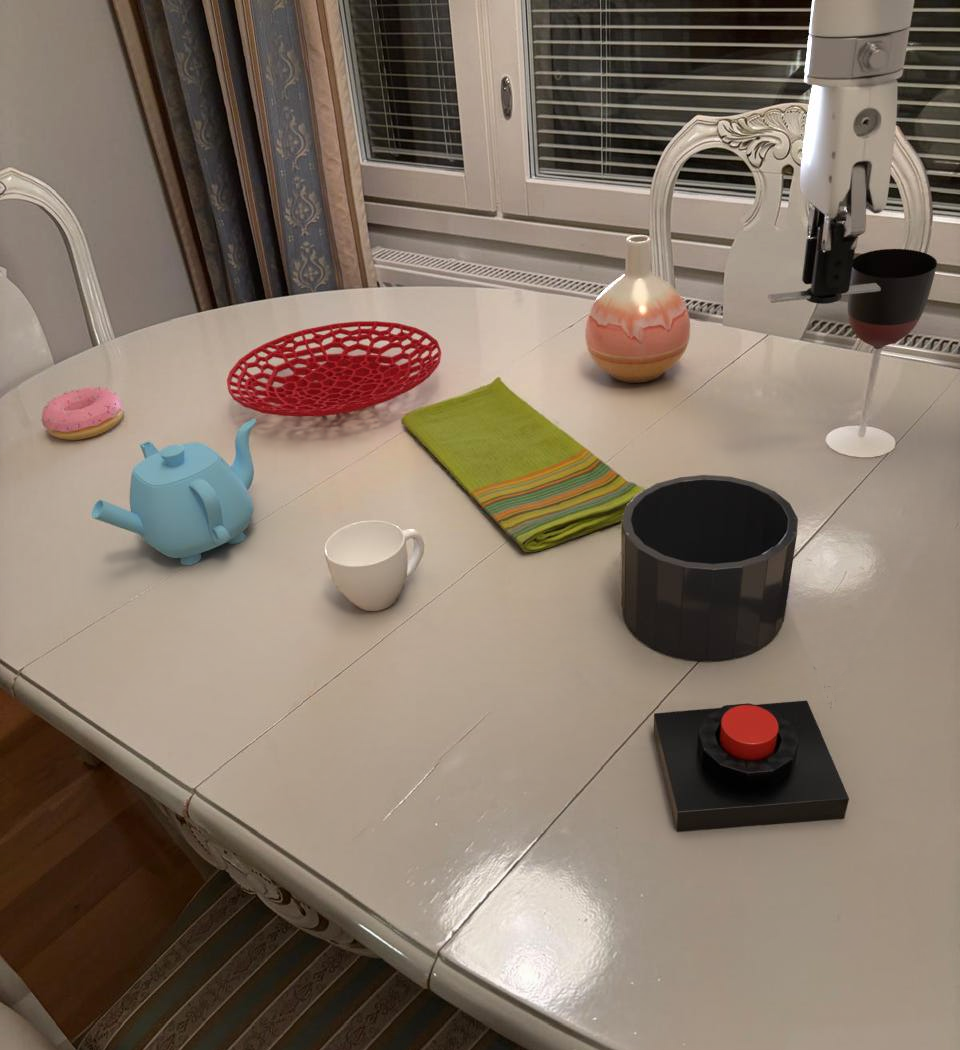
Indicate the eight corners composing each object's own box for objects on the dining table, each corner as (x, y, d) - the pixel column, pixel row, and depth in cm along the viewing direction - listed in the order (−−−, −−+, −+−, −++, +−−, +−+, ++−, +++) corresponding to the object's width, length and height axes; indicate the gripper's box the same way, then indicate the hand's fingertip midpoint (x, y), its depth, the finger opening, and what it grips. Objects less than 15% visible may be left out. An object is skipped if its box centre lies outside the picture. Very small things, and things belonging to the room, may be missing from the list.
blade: (871, 286, 87) (883, 214, 83) (883, 297, 84) (896, 224, 80) (765, 297, 87) (771, 227, 83) (773, 309, 85) (780, 237, 81)
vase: (605, 403, 119) (604, 264, 107) (573, 363, 129) (569, 232, 118) (704, 383, 120) (713, 244, 109) (664, 345, 131) (669, 215, 119)
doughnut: (126, 402, 134) (117, 375, 131) (128, 433, 126) (117, 405, 123) (50, 418, 132) (38, 391, 129) (46, 452, 124) (33, 423, 121)
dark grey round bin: (760, 557, 90) (771, 468, 84) (804, 654, 79) (820, 559, 73) (612, 571, 91) (612, 483, 84) (634, 669, 80) (636, 576, 73)
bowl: (365, 465, 112) (358, 427, 109) (191, 427, 125) (180, 393, 122) (483, 367, 131) (480, 333, 128) (321, 344, 144) (315, 312, 140)
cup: (324, 596, 92) (309, 541, 88) (408, 557, 96) (398, 502, 92) (361, 633, 87) (347, 576, 83) (448, 590, 91) (440, 534, 87)
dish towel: (524, 560, 94) (522, 533, 92) (399, 426, 119) (395, 403, 117) (652, 514, 98) (653, 488, 96) (504, 395, 123) (502, 372, 121)
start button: (767, 718, 69) (770, 702, 68) (782, 758, 66) (785, 741, 65) (714, 723, 69) (715, 706, 68) (726, 763, 66) (728, 746, 65)
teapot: (172, 502, 110) (141, 415, 103) (280, 502, 107) (255, 413, 100) (114, 578, 99) (74, 487, 91) (233, 580, 96) (202, 487, 89)
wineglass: (812, 450, 105) (839, 273, 92) (838, 418, 110) (867, 245, 97) (884, 465, 101) (923, 282, 88) (907, 431, 106) (947, 253, 93)
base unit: (803, 719, 73) (810, 683, 71) (844, 818, 65) (853, 781, 63) (653, 732, 74) (654, 696, 71) (676, 831, 66) (678, 795, 63)
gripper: (942, 66, 67) (896, 314, 79) (868, 38, 80) (838, 256, 91) (839, 79, 68) (808, 324, 79) (781, 49, 80) (762, 264, 92)
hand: (824, 286), depth 85 cm, fingers closed on blade, 2 cm apart
